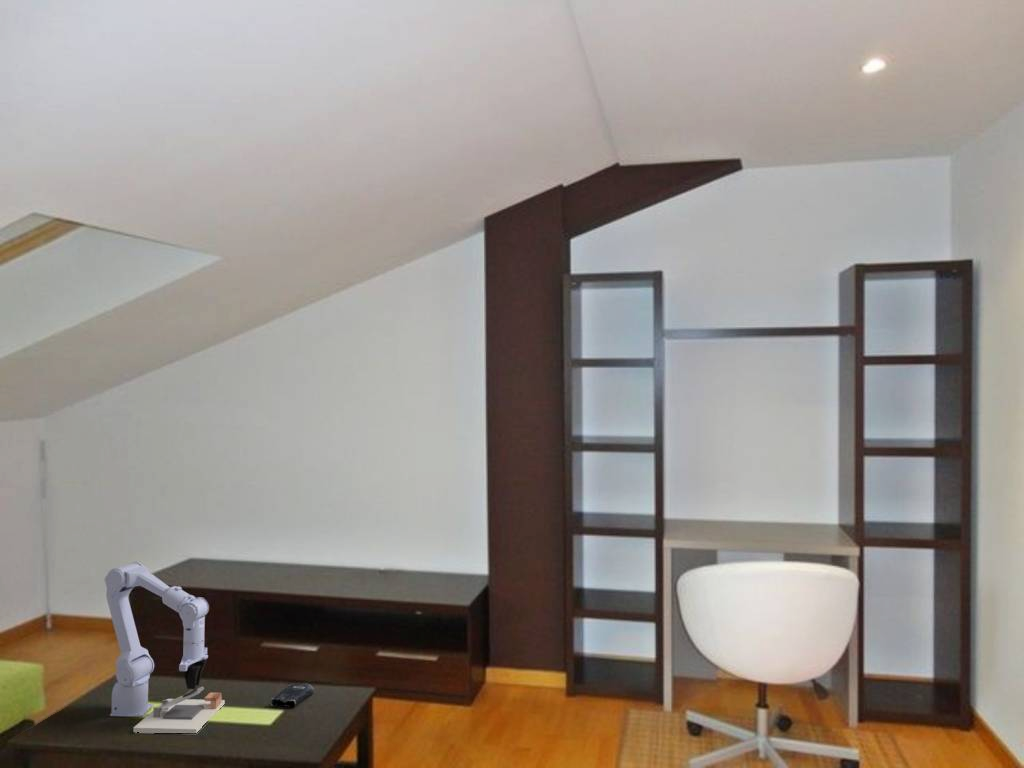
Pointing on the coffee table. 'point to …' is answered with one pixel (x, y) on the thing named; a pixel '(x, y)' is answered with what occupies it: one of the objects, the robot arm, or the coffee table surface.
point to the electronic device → (293, 694)
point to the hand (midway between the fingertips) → (193, 686)
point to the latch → (214, 699)
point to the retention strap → (181, 698)
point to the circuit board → (178, 717)
